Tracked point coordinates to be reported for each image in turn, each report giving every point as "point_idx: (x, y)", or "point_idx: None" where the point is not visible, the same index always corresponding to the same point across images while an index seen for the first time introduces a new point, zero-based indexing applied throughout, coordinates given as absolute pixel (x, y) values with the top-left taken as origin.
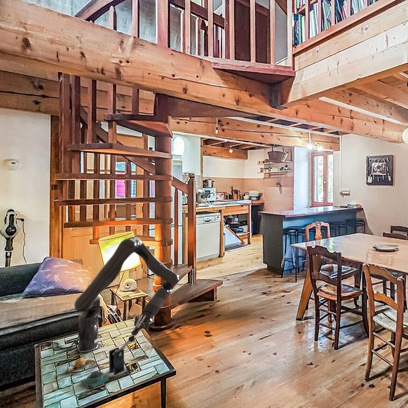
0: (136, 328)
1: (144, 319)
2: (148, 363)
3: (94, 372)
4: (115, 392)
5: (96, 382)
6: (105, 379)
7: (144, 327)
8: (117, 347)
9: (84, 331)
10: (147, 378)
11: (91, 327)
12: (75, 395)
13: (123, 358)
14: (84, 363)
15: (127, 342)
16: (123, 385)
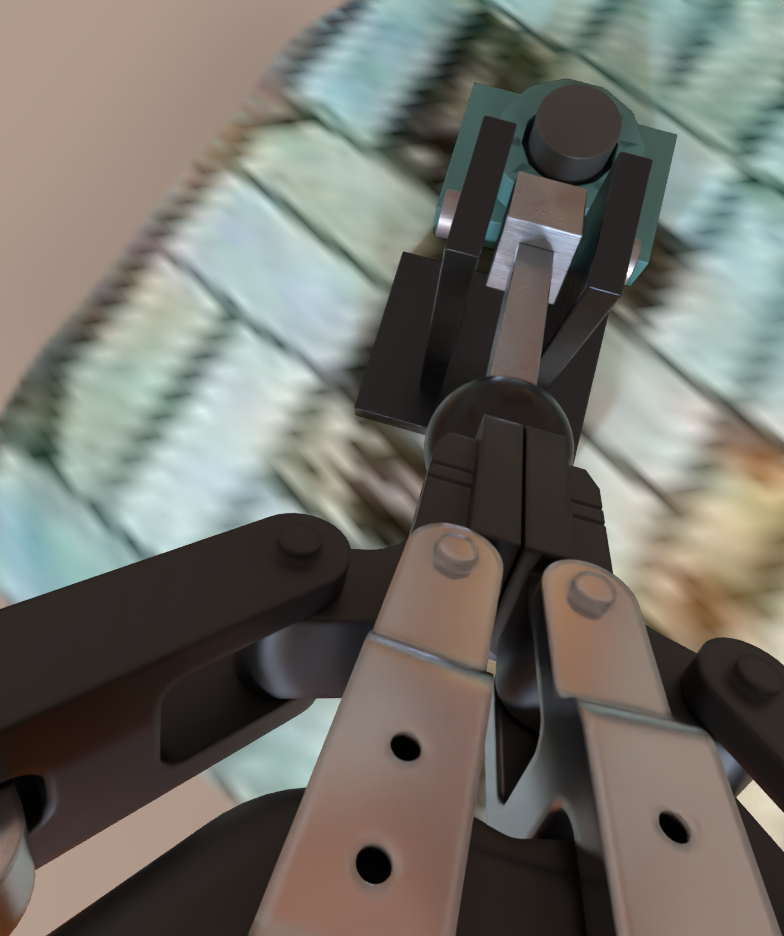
0: (497, 521)
1: (256, 907)
2: None
3: (599, 128)
4: (250, 120)
5: None
6: (455, 183)
7: (238, 654)
8: (616, 282)
9: None
10: (95, 347)
11: None
12: (560, 44)
13: (432, 314)
14: None
15: (505, 353)
16: (257, 214)
